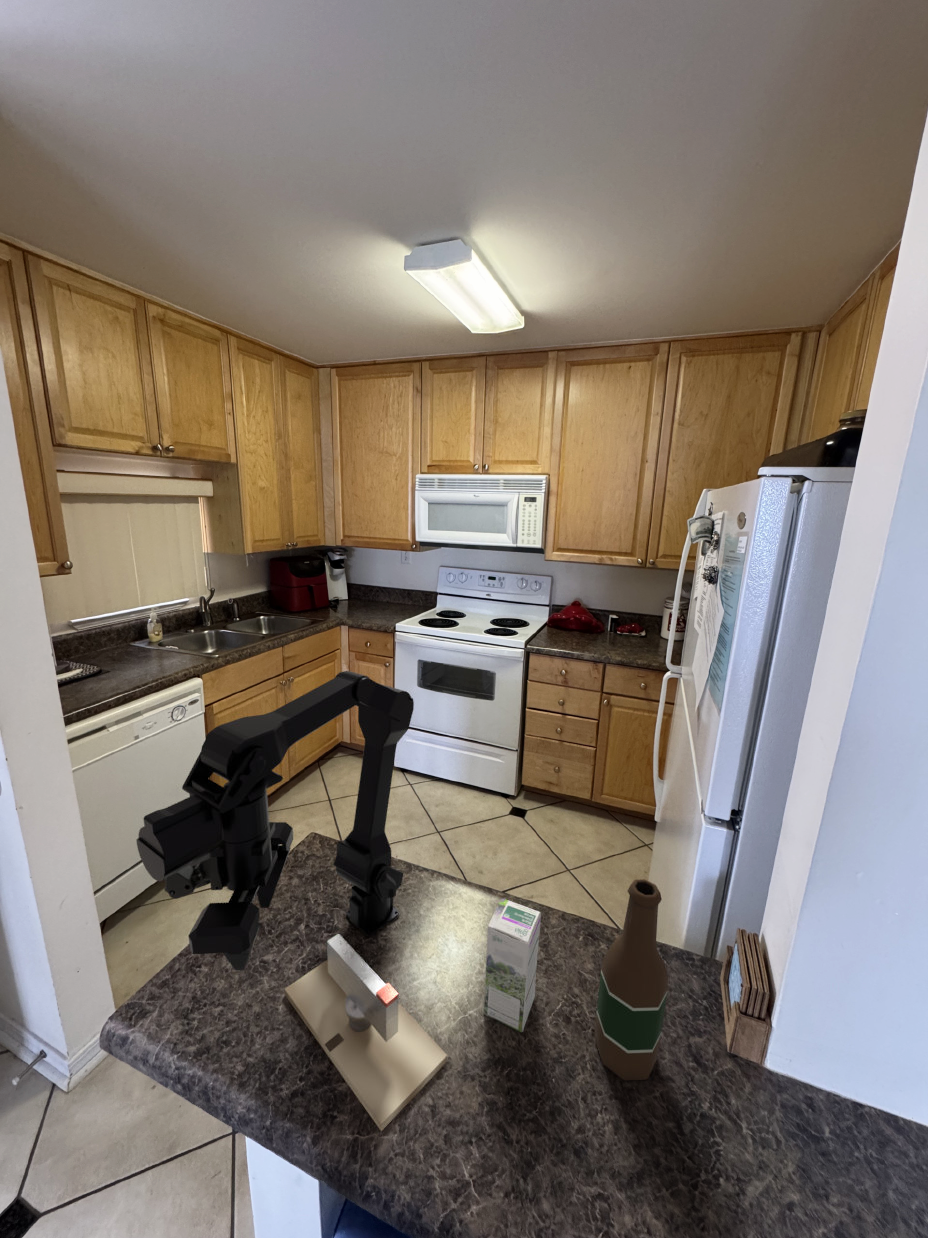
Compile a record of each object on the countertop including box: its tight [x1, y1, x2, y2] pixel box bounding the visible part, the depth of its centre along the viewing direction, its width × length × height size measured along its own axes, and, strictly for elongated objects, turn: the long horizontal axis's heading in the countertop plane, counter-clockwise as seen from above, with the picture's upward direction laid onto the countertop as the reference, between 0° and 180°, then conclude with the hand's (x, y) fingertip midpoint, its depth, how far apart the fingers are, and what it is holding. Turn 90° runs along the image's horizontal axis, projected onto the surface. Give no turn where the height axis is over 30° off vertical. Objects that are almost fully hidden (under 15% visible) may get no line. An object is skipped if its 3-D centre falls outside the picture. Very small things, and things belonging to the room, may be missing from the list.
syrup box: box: [483, 898, 542, 1033], centre depth 67 cm, size 6×6×14 cm
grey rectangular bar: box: [326, 933, 399, 1042], centre depth 64 cm, size 4×13×7 cm, turn 46°
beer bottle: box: [594, 879, 669, 1081], centre depth 61 cm, size 8×8×24 cm
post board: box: [284, 959, 448, 1132], centre depth 65 cm, size 10×22×3 cm, turn 46°
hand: (253, 936), depth 63 cm, fingers open, 9 cm apart
